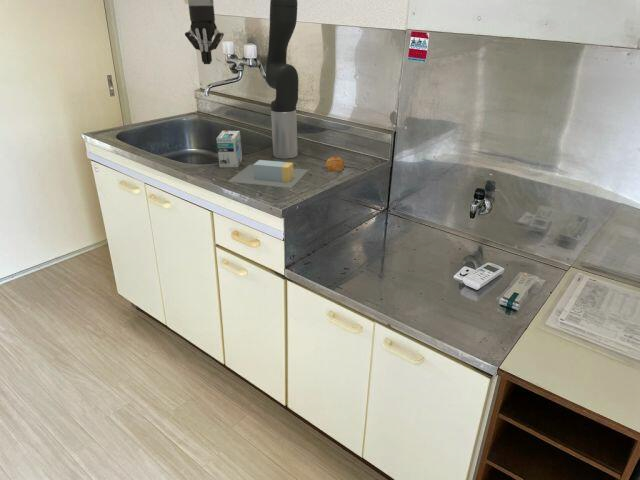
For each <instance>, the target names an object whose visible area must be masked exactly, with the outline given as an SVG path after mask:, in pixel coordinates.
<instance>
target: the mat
mask: <svg viewBox="0 0 640 480" xmlns="http://www.w3.org/2000/svg"><path fill="white" fill-rule="evenodd" d="M308 171H309V169H303V168H294V167H293V174H294V177H293V178H292V179H291V180H290V181H289V182H279V181H270V180H260V179H254V167H253V164H249V165H247V166H246V167H245V168H243V170H240V171H239V172H238V173H237V174H236V175H234V176H233V177H232V178H230V179H229V180H227V182H231V183H237V184H248V185H255V186H256V185H259V186H265V187H266V186H268V187H276V188H277V187H278V188H286V189H292V188H293V187H294V186H295V185H296V184H297V183H298V181H300V180H301V179H302V177H303V176H304V175H305V174H307V172H308Z"/></svg>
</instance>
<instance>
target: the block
mask: <svg viewBox="0 0 640 480" xmlns="http://www.w3.org/2000/svg"><path fill="white" fill-rule="evenodd" d="M252 165H253V167H254V179H260V180H270V181H279V182H289V181H290V180H291V179H292V178H293V177H294V174H293V168H294V162H290V161H289V162H285V161H277V160H275V161H274V160H264V159H259V160H257V161H256V162H255V163H253V164H252Z"/></svg>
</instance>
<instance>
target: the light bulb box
mask: <svg viewBox="0 0 640 480" xmlns="http://www.w3.org/2000/svg"><path fill="white" fill-rule="evenodd" d="M241 139H242V138H241V131H240V130H222V131H221V132H220V133H219V135H218V136H217V137H216V147H217V155H218V163H219V164H218V165H219V166H218V167H219V168H238V167H239V166H240V164H241V162H242V161H243V154H242V153H243V152H242V140H241Z"/></svg>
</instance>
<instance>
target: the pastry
mask: <svg viewBox="0 0 640 480" xmlns="http://www.w3.org/2000/svg"><path fill="white" fill-rule="evenodd" d="M324 165H325V168H326V170H327V171H328V172H330V173H333V174H335V173H336V174H337V173H340V172H342V171H343V170H344V168H345V161H344V159H342V158H341V157H339V156H331V157H329V158H328V159H327V161H326V162H325V163H324Z"/></svg>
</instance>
